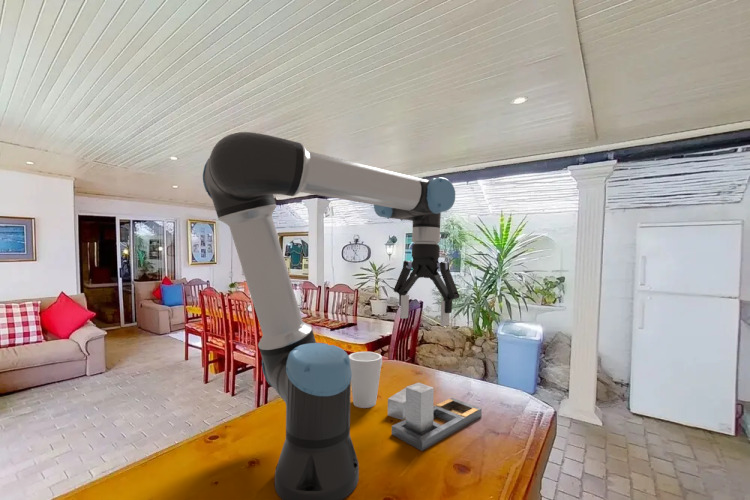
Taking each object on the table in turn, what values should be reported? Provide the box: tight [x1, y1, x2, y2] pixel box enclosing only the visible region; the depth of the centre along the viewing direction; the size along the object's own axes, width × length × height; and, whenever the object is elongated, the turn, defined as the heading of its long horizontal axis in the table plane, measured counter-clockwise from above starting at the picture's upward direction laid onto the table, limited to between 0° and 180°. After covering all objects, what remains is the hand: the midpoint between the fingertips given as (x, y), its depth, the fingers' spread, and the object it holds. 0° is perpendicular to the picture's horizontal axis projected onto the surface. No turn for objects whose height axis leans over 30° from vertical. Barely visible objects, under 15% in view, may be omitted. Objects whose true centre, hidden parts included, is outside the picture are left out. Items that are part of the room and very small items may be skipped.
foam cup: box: [348, 351, 383, 409], centre depth 96 cm, size 10×9×13 cm
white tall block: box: [405, 382, 435, 436], centre depth 79 cm, size 4×4×11 cm
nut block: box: [387, 385, 409, 421], centre depth 92 cm, size 11×4×4 cm, turn 146°
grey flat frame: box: [391, 397, 482, 452], centre depth 84 cm, size 24×9×2 cm, turn 133°
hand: (423, 321), depth 93 cm, fingers open, 13 cm apart
